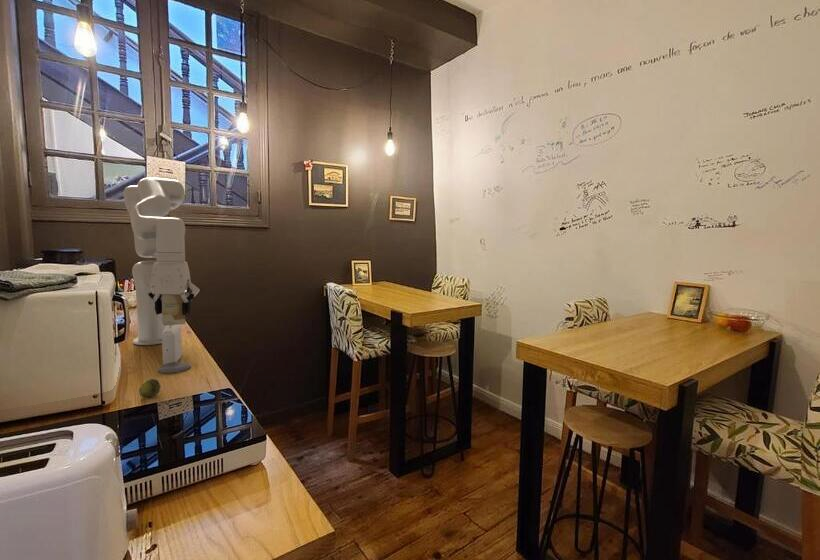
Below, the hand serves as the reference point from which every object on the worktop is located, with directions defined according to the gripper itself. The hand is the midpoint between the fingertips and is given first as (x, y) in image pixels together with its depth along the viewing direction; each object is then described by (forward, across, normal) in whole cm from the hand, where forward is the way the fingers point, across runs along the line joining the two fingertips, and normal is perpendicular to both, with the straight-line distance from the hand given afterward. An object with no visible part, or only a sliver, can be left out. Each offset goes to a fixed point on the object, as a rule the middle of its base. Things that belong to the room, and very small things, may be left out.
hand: (172, 313), depth 126 cm
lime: (+18, +5, -22) cm, 29 cm away
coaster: (+18, 0, 0) cm, 18 cm away
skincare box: (+4, 0, 0) cm, 4 cm away
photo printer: (+18, -5, +8) cm, 21 cm away
